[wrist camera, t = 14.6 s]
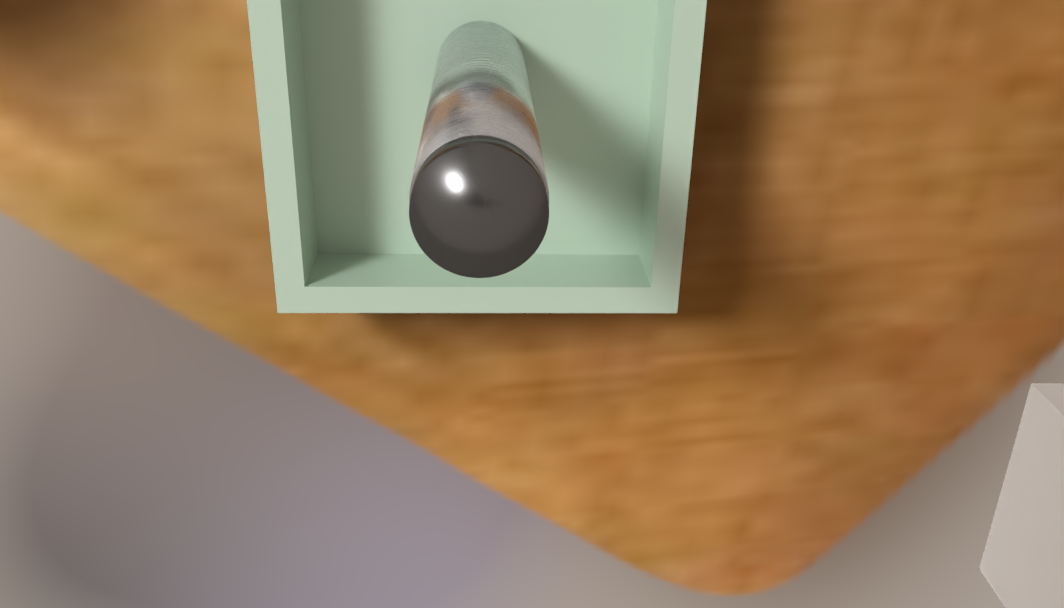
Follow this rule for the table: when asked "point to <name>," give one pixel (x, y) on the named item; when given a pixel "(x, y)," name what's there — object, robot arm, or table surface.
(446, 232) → the dark capped cylinder
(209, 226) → the table surface
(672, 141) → the tray
